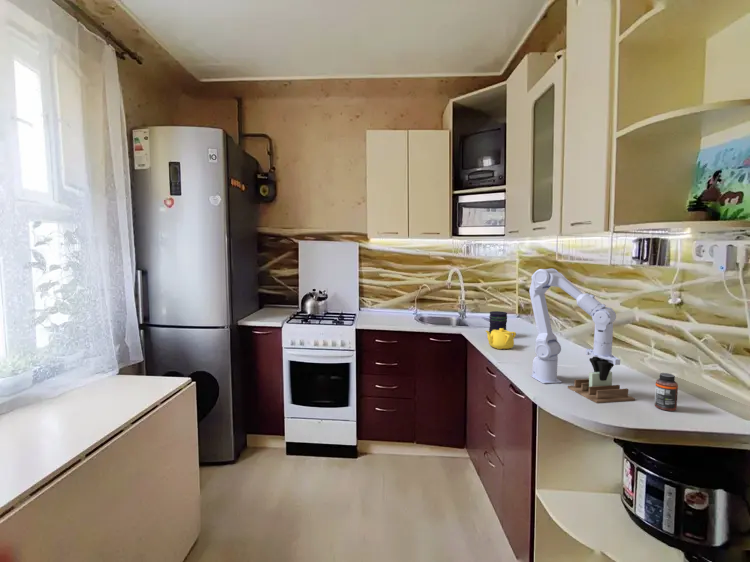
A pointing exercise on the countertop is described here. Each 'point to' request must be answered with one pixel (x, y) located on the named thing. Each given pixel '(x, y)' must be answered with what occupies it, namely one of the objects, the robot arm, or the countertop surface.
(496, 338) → the teapot
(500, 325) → the storage jar
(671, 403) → the supplement bottle
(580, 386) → the dish rack
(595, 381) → the pale green flat block
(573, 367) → the countertop surface
